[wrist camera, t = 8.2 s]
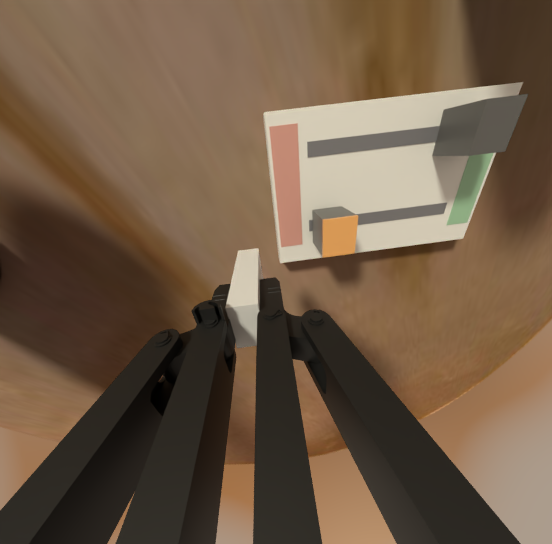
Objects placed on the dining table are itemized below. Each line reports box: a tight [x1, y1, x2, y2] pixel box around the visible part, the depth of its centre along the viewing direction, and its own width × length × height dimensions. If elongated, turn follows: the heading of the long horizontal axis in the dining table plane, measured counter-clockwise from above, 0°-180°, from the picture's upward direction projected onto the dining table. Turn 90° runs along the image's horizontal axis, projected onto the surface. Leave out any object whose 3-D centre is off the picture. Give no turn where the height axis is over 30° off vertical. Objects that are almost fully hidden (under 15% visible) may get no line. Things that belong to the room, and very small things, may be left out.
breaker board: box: [263, 82, 528, 263], centre depth 19 cm, size 22×14×6 cm, turn 97°
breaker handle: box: [312, 206, 358, 258], centre depth 20 cm, size 3×4×4 cm
